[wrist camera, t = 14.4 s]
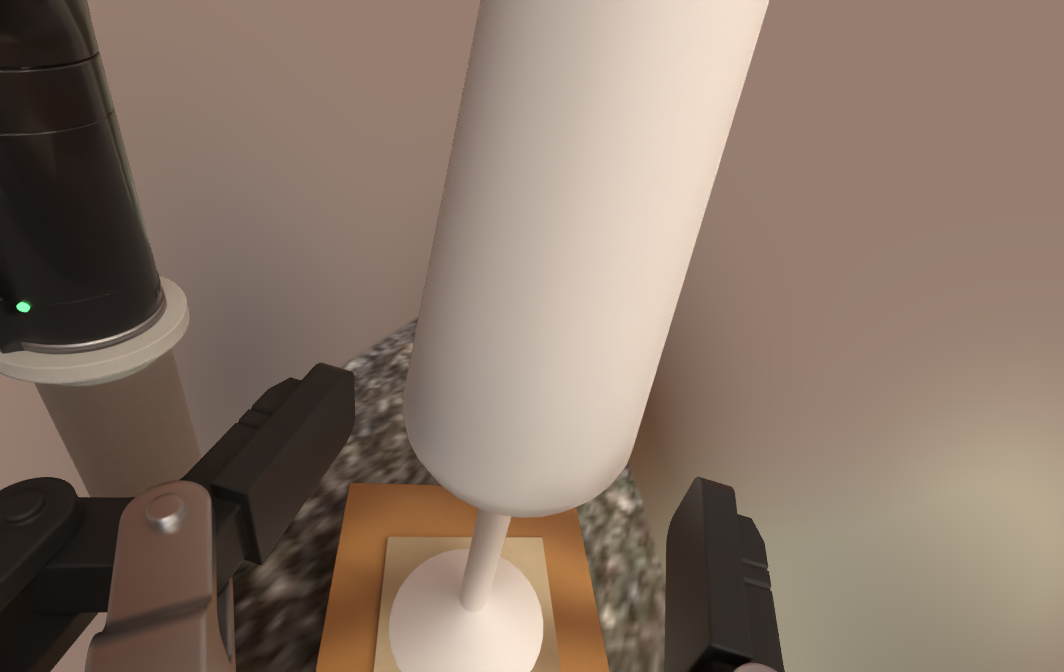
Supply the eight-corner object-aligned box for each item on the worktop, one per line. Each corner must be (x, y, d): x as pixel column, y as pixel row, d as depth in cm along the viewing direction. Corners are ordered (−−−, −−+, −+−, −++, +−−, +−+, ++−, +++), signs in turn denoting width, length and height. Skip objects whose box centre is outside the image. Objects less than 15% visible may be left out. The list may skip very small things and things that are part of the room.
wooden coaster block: (608, 838, 22) (640, 811, 19) (291, 875, 19) (281, 850, 17) (557, 528, 33) (573, 485, 30) (350, 526, 30) (349, 479, 28)
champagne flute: (415, 534, 26) (480, -84, 12) (551, 564, 26) (778, -13, 12) (363, 688, 21) (367, -112, 6) (534, 726, 21) (914, 20, 6)
